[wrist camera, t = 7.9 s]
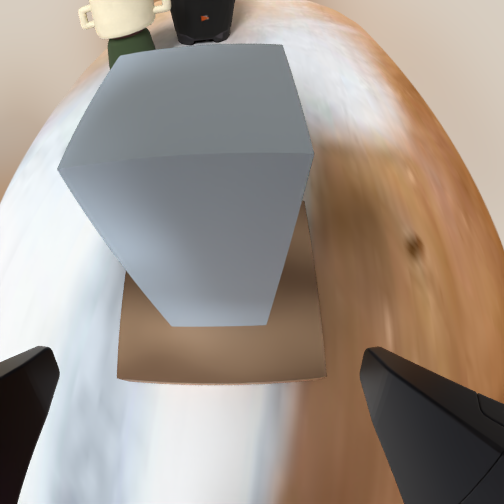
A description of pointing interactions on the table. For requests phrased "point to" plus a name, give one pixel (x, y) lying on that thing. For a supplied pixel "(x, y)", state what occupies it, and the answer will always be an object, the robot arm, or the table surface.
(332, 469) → the table surface
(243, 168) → the block
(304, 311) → the plinth
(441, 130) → the table surface
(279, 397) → the table surface
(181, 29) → the portable speaker
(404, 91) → the table surface
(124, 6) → the character mug
